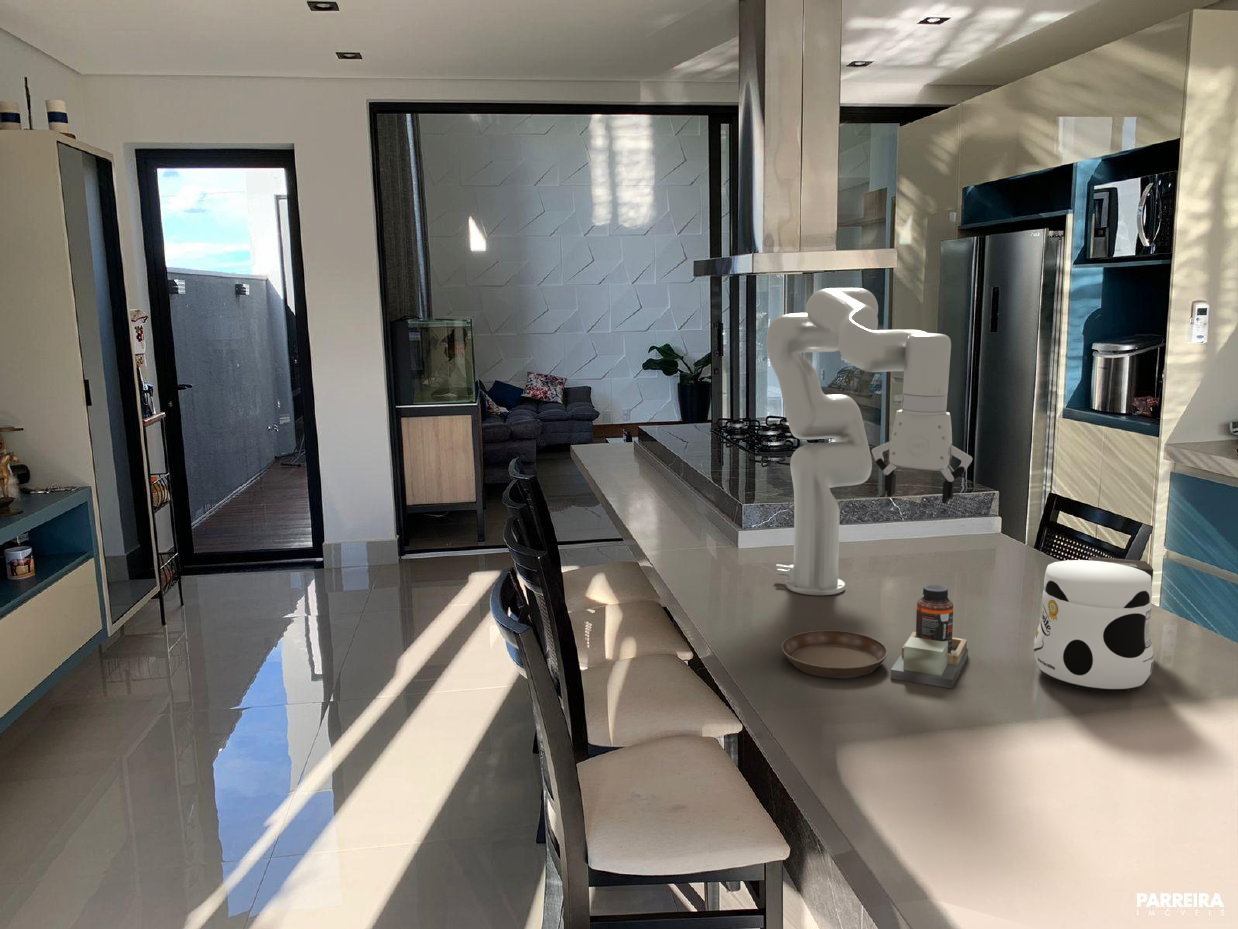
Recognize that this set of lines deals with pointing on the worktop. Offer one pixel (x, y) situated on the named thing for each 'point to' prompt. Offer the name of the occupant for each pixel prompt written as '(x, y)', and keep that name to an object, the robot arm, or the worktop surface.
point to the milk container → (1095, 626)
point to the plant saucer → (834, 653)
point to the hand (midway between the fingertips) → (917, 498)
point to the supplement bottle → (935, 615)
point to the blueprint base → (929, 677)
